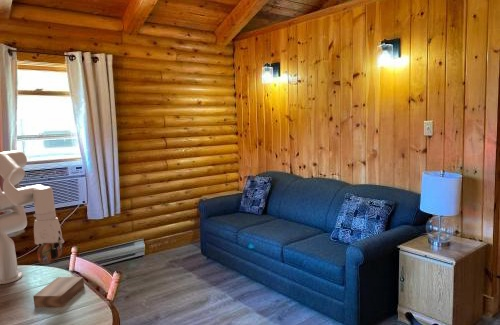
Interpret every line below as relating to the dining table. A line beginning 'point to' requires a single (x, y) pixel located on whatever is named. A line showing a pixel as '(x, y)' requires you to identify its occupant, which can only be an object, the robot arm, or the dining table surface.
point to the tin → (47, 253)
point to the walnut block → (58, 292)
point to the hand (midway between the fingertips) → (51, 257)
